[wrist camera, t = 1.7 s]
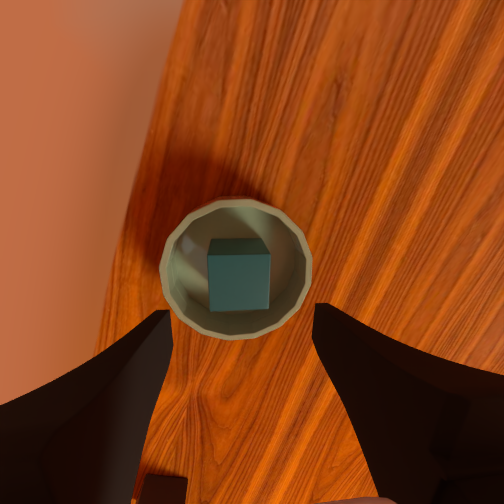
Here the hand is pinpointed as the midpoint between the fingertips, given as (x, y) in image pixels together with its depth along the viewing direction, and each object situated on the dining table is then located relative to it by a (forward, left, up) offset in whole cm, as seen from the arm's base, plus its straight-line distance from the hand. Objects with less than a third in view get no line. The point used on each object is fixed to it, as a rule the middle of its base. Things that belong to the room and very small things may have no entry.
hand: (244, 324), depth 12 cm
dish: (0, 0, -9) cm, 9 cm away
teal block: (0, 0, -9) cm, 9 cm away
